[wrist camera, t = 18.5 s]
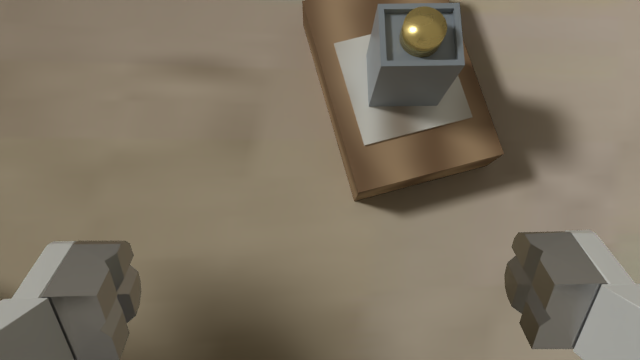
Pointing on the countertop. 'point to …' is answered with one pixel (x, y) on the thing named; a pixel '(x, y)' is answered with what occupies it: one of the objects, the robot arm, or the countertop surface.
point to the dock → (392, 108)
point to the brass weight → (422, 31)
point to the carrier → (411, 59)
